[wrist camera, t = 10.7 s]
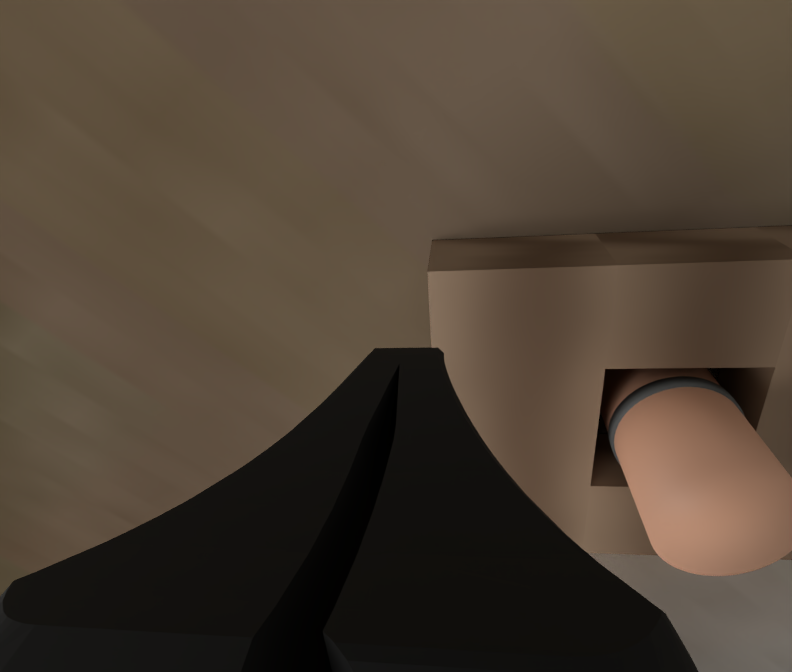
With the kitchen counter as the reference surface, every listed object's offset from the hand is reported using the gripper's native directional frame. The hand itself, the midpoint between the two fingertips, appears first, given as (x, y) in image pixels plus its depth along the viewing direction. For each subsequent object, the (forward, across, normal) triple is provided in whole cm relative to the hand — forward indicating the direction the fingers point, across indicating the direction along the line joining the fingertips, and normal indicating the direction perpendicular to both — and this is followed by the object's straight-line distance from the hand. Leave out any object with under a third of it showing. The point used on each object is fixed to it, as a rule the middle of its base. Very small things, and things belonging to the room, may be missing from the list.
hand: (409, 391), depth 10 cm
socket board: (+9, -8, +6) cm, 14 cm away
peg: (+9, -8, +6) cm, 14 cm away
